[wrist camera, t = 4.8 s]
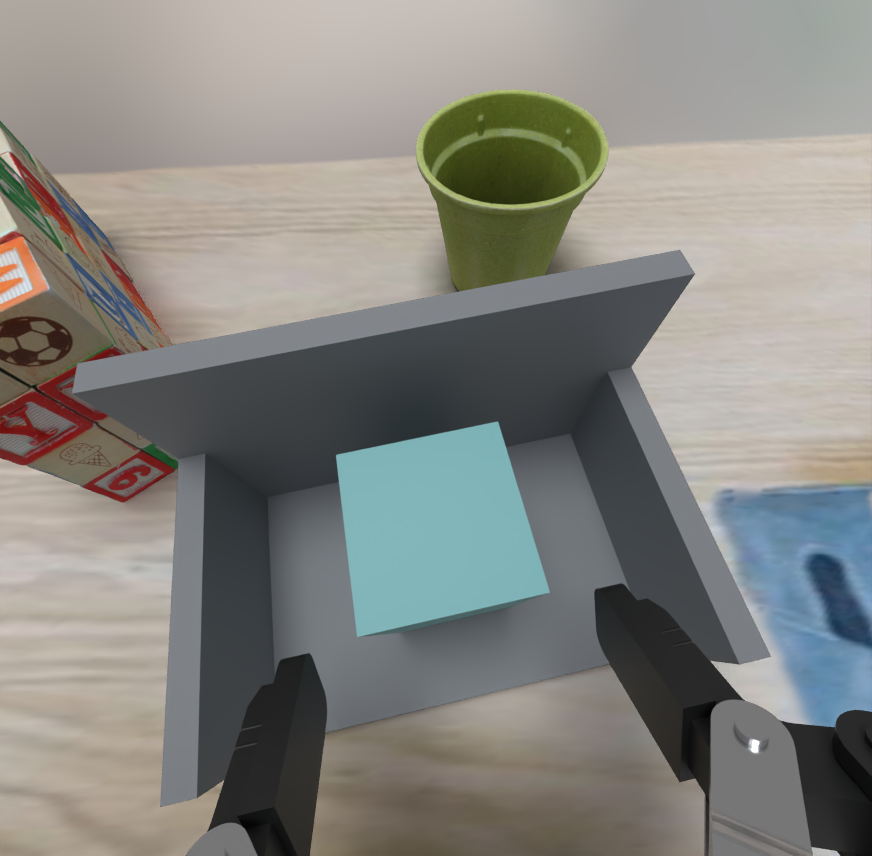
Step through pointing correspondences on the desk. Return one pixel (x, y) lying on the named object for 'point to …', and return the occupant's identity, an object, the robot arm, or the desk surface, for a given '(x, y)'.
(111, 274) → the stack of blocks
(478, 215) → the plant pot
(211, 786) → the grey open tray
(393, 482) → the block
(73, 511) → the desk surface
